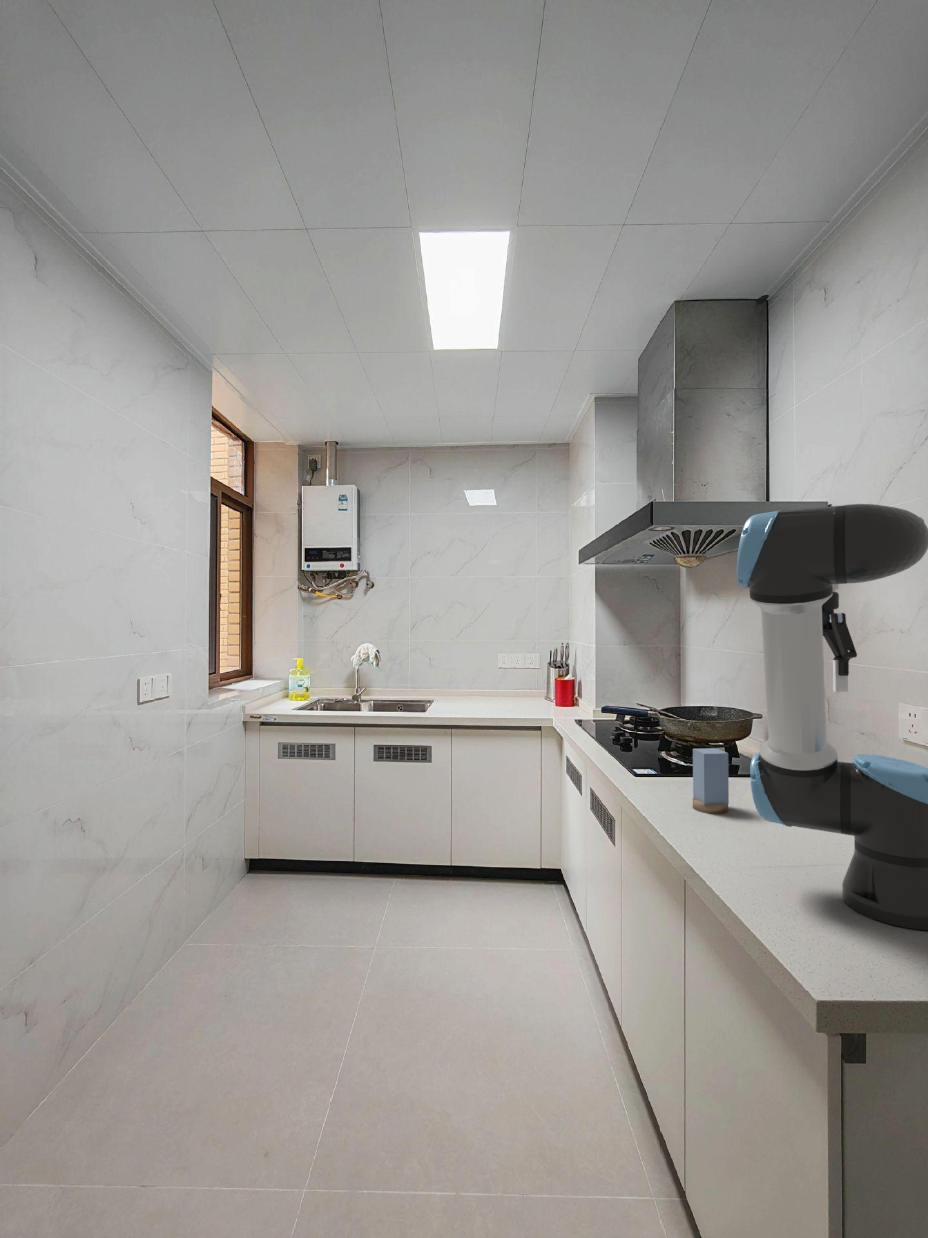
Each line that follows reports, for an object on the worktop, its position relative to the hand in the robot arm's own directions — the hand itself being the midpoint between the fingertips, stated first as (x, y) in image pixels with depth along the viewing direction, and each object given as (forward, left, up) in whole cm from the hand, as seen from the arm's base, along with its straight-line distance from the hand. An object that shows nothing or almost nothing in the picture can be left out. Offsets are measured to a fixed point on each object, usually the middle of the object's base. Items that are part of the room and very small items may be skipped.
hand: (819, 688), depth 137 cm
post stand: (+5, +23, -31) cm, 39 cm away
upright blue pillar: (+5, +23, -29) cm, 37 cm away
